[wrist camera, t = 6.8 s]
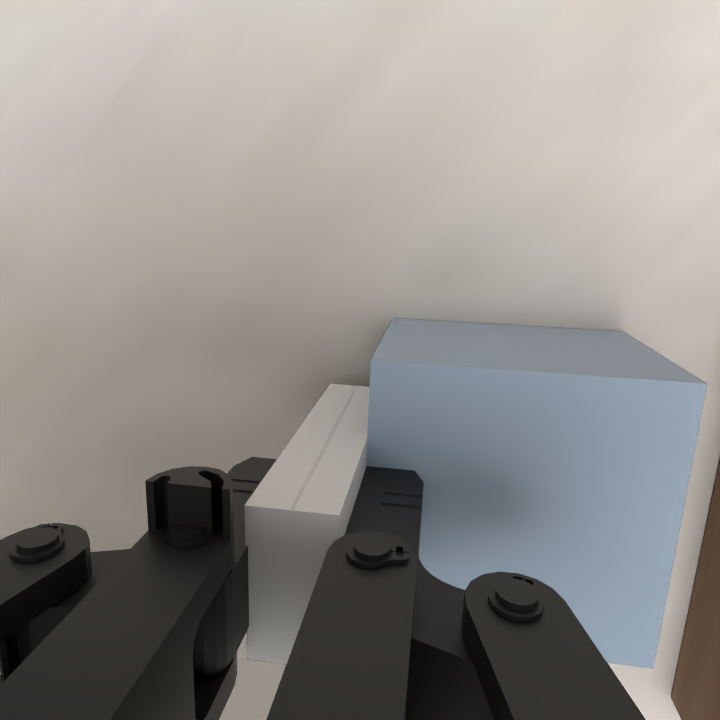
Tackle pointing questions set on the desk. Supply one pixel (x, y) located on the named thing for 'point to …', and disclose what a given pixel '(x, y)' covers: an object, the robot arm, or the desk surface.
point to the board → (702, 630)
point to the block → (543, 462)
